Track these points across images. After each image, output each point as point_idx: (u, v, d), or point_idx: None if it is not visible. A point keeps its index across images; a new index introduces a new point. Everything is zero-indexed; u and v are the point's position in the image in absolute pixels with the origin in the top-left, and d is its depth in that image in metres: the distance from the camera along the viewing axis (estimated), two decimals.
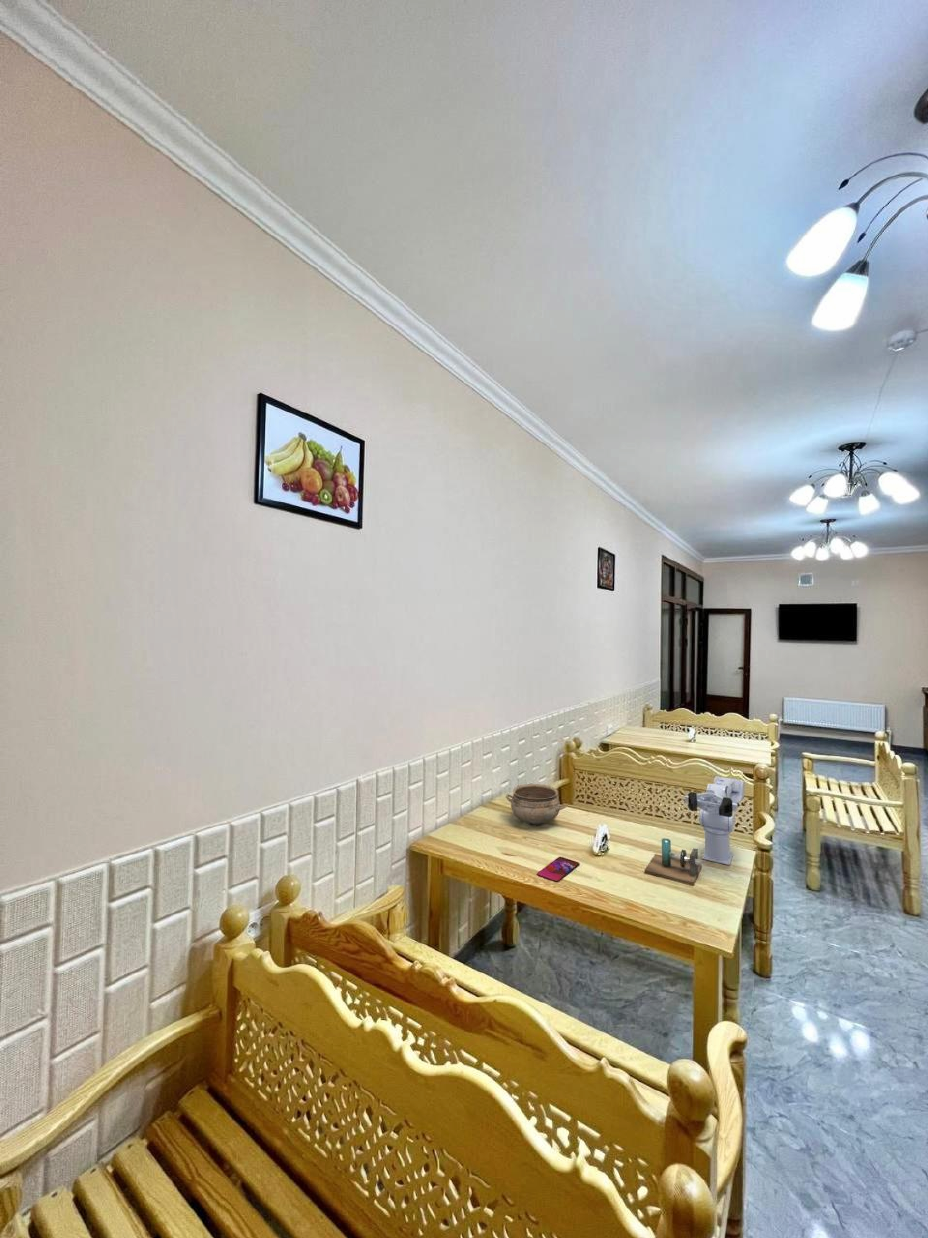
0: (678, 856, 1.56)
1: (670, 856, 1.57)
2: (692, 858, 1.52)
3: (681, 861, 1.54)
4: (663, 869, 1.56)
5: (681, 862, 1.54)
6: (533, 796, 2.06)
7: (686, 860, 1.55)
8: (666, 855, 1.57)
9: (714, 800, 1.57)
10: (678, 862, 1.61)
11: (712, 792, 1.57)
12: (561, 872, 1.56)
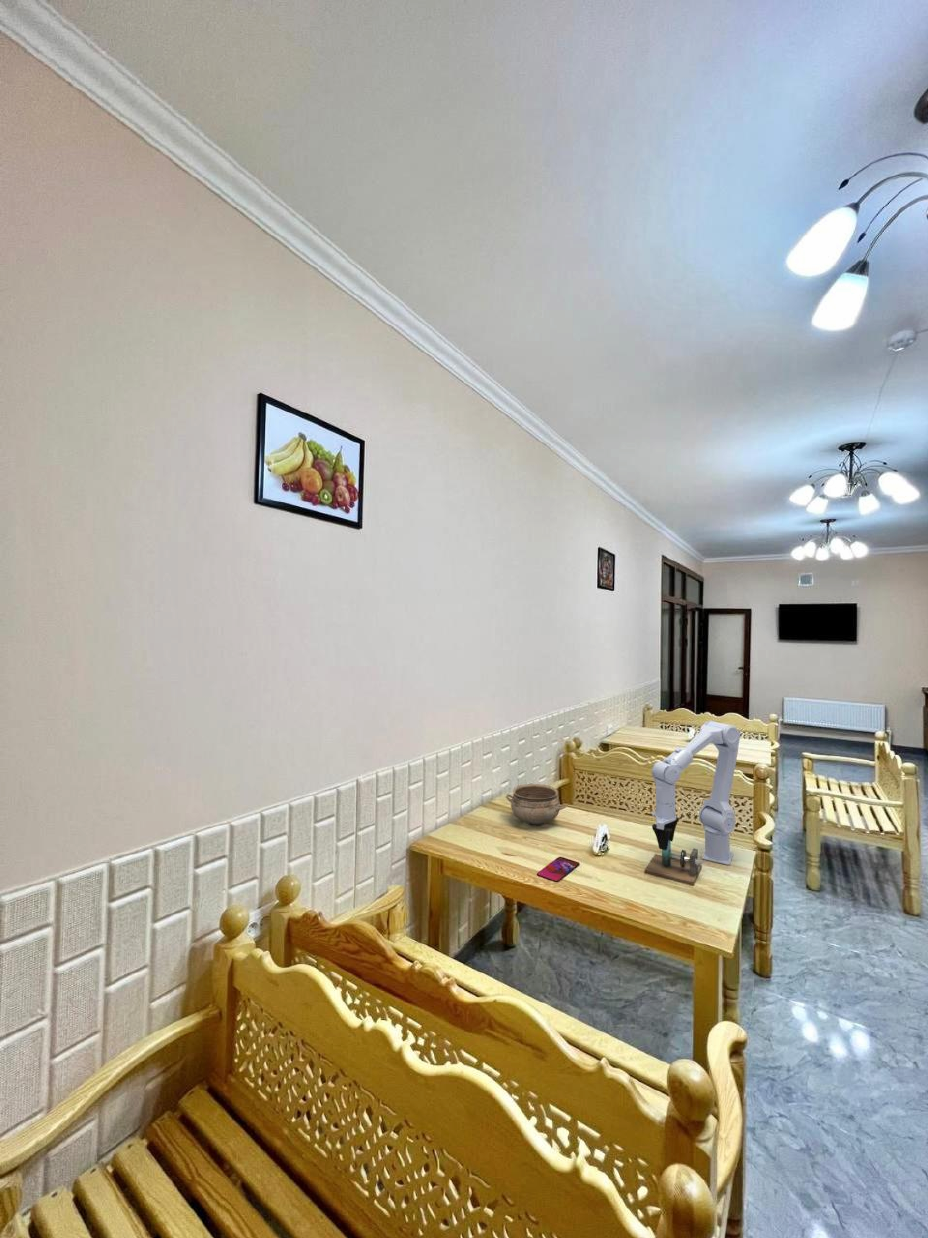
0: (678, 856, 1.56)
1: (670, 856, 1.57)
2: (692, 858, 1.52)
3: (681, 861, 1.54)
4: (663, 869, 1.56)
5: (681, 862, 1.54)
6: (533, 796, 2.06)
7: (686, 860, 1.55)
8: (666, 855, 1.57)
9: None
10: (678, 862, 1.61)
11: None
12: (561, 872, 1.56)
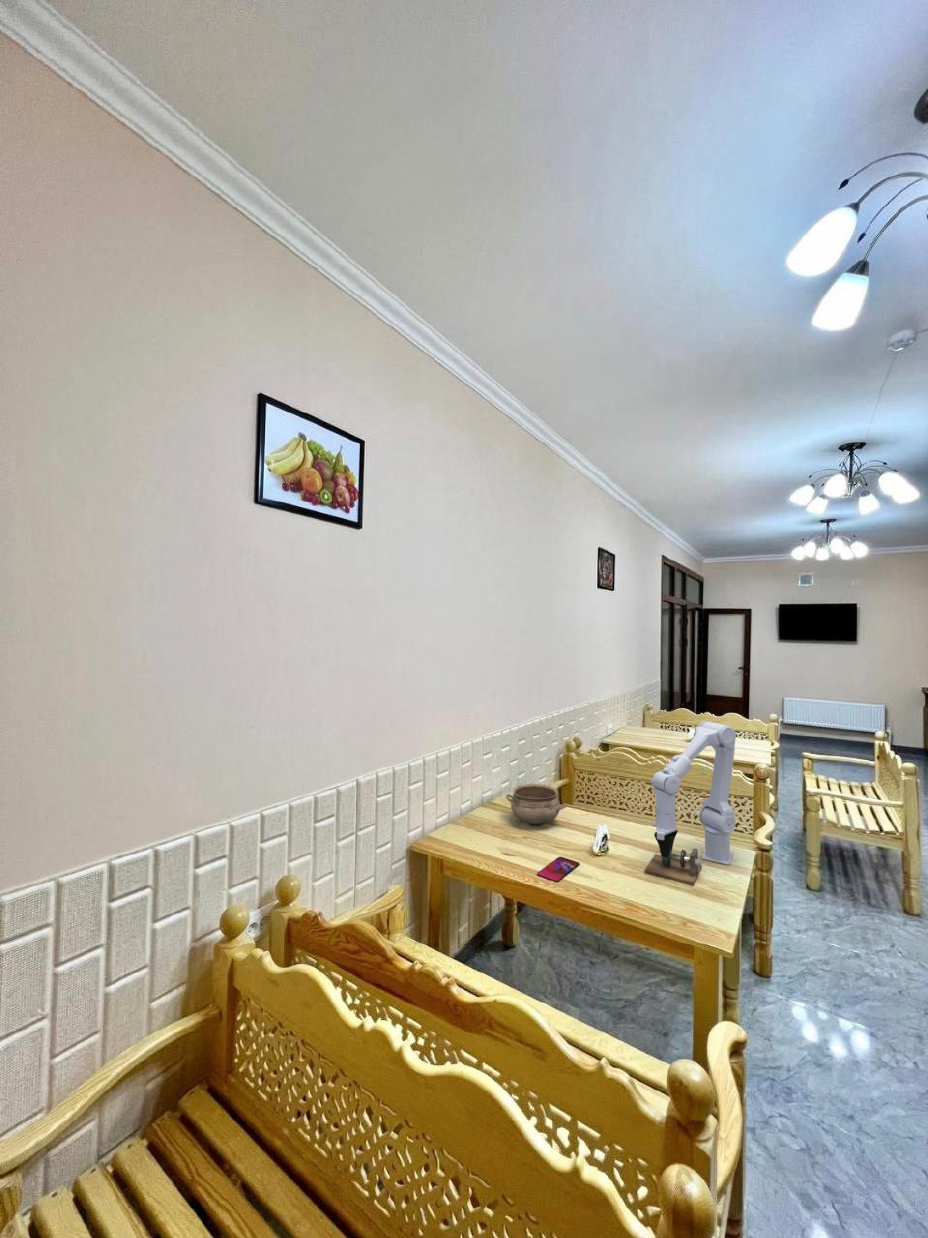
0: (678, 856, 1.56)
1: (670, 856, 1.57)
2: (692, 858, 1.52)
3: (681, 861, 1.54)
4: (663, 869, 1.56)
5: (681, 862, 1.54)
6: (533, 796, 2.06)
7: (686, 860, 1.55)
8: None
9: None
10: (678, 862, 1.61)
11: None
12: (561, 872, 1.56)
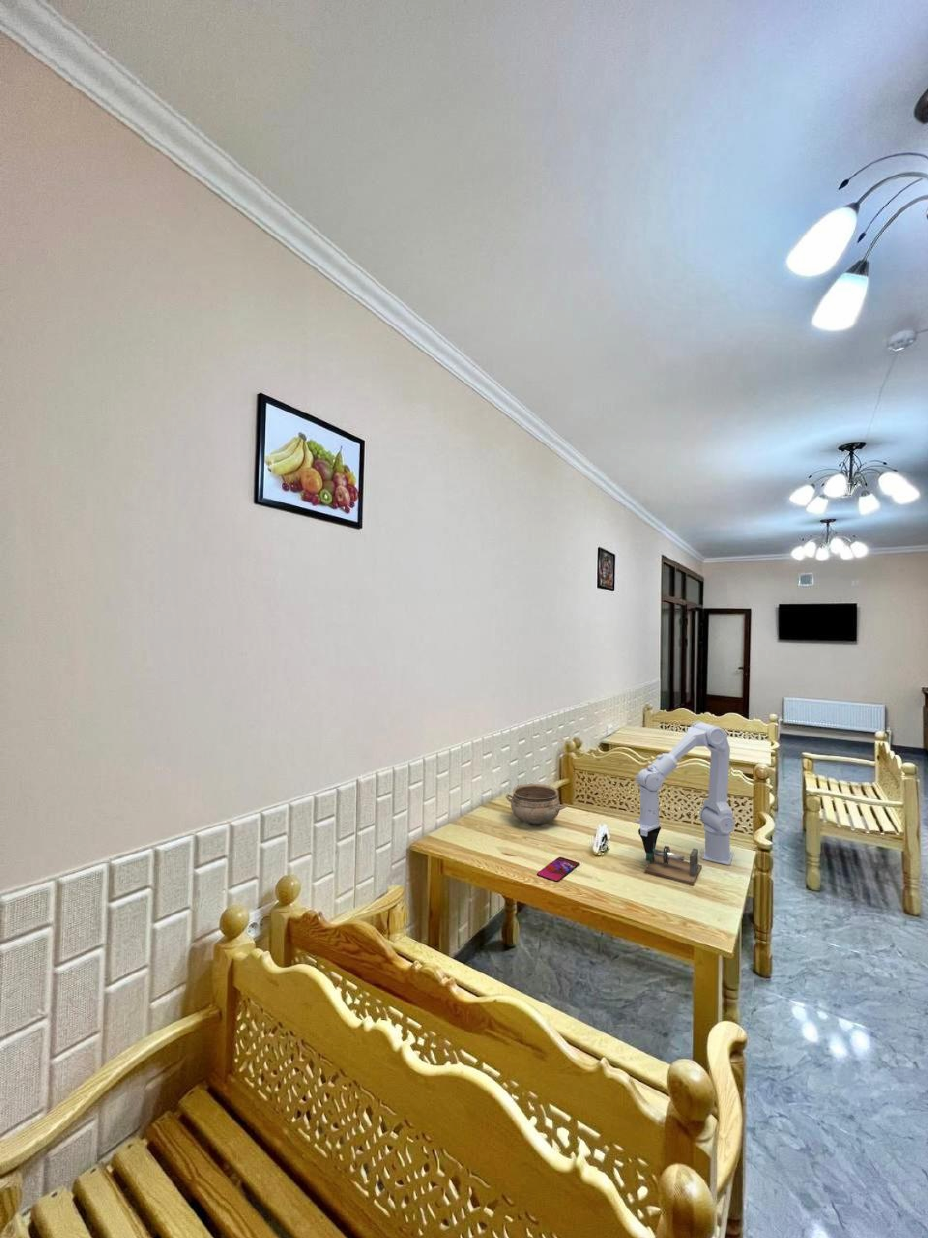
0: (661, 852, 1.59)
1: (653, 852, 1.60)
2: (692, 858, 1.52)
3: (664, 857, 1.57)
4: (663, 869, 1.56)
5: (664, 858, 1.57)
6: (533, 796, 2.06)
7: (669, 856, 1.57)
8: None
9: None
10: (678, 862, 1.61)
11: None
12: (561, 872, 1.56)
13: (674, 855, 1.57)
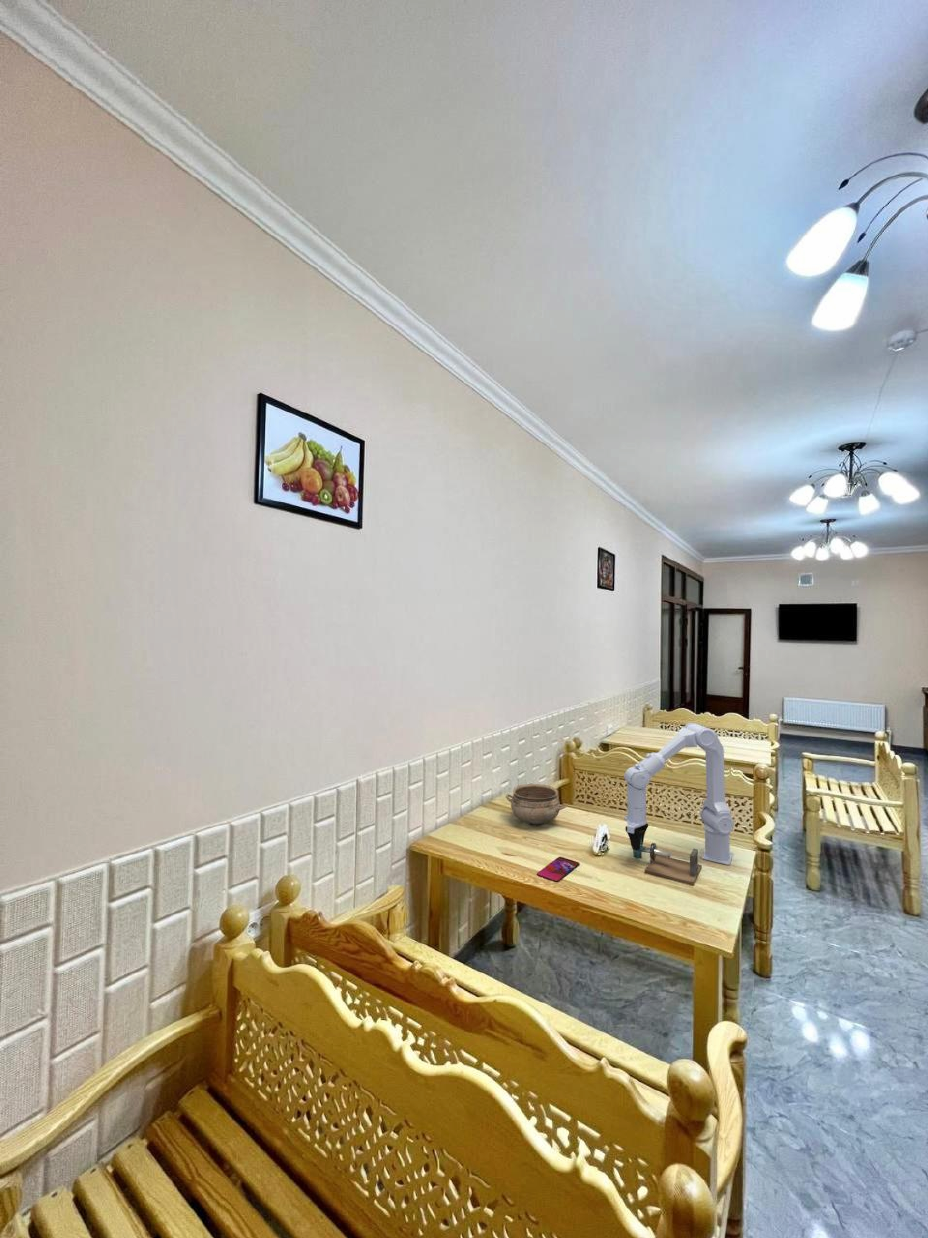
0: (648, 849, 1.61)
1: (641, 849, 1.62)
2: (692, 858, 1.52)
3: (651, 854, 1.59)
4: (663, 869, 1.56)
5: (651, 855, 1.59)
6: (533, 796, 2.06)
7: (656, 853, 1.60)
8: None
9: None
10: (678, 862, 1.61)
11: None
12: (561, 872, 1.56)
13: (661, 852, 1.59)
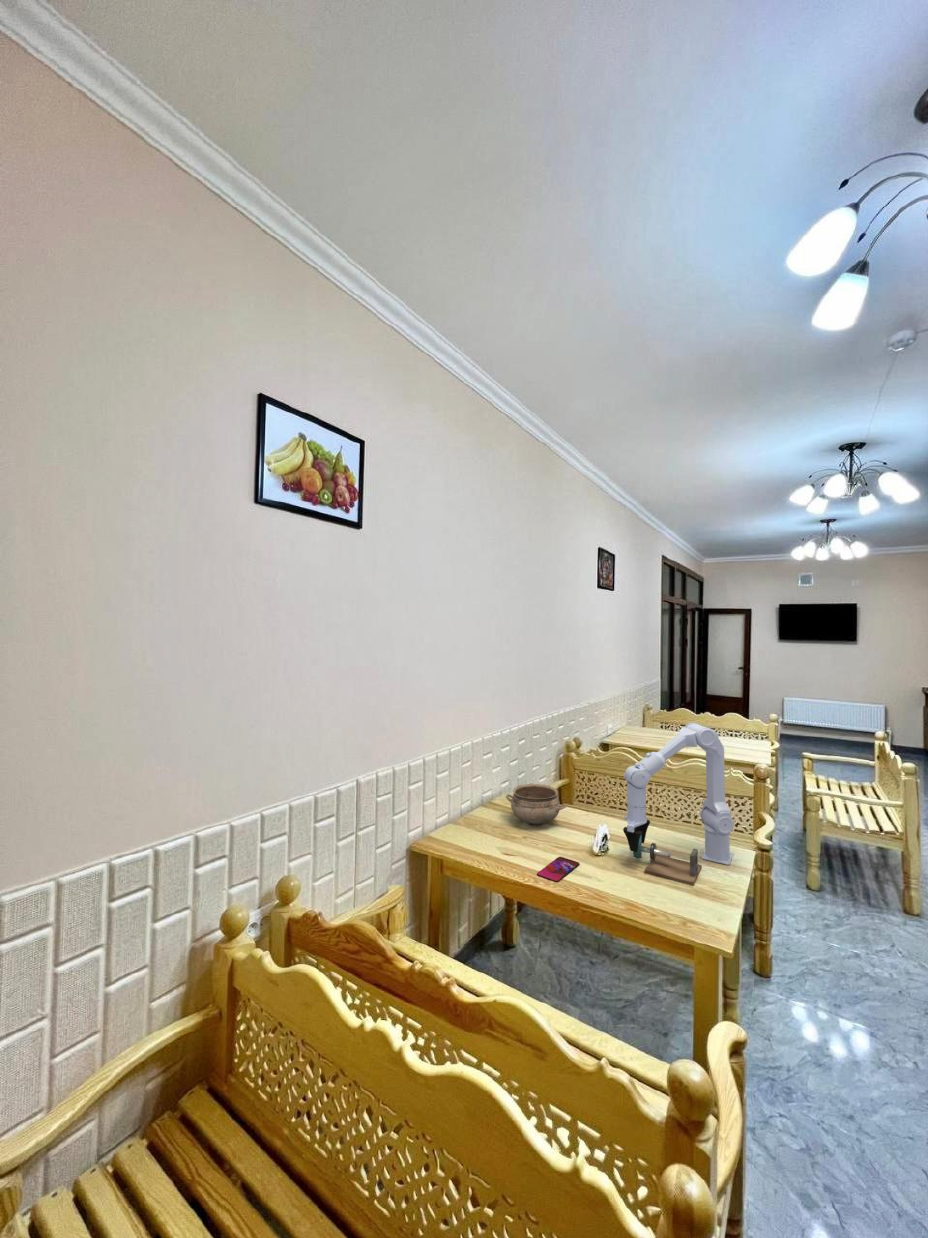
0: (648, 849, 1.61)
1: (641, 849, 1.62)
2: (692, 858, 1.52)
3: (651, 854, 1.59)
4: (663, 869, 1.56)
5: (651, 855, 1.59)
6: (533, 796, 2.06)
7: (656, 853, 1.60)
8: None
9: None
10: (678, 862, 1.61)
11: None
12: (561, 872, 1.56)
13: (661, 852, 1.59)
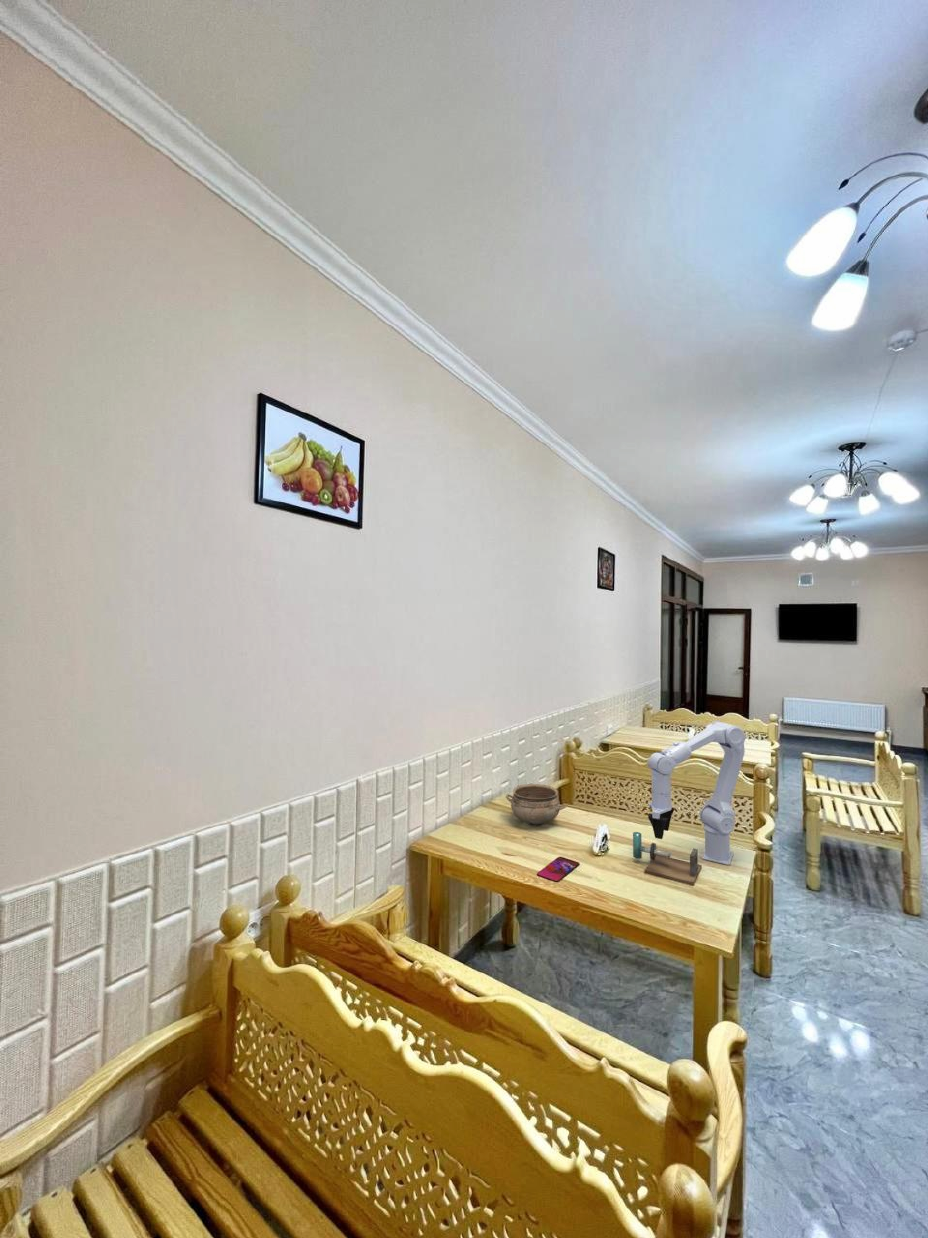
0: (648, 849, 1.61)
1: (641, 849, 1.62)
2: (692, 858, 1.52)
3: (651, 854, 1.59)
4: (663, 869, 1.56)
5: (651, 855, 1.59)
6: (533, 796, 2.06)
7: (656, 853, 1.60)
8: (637, 848, 1.63)
9: None
10: (678, 862, 1.61)
11: None
12: (561, 872, 1.56)
13: (661, 852, 1.59)
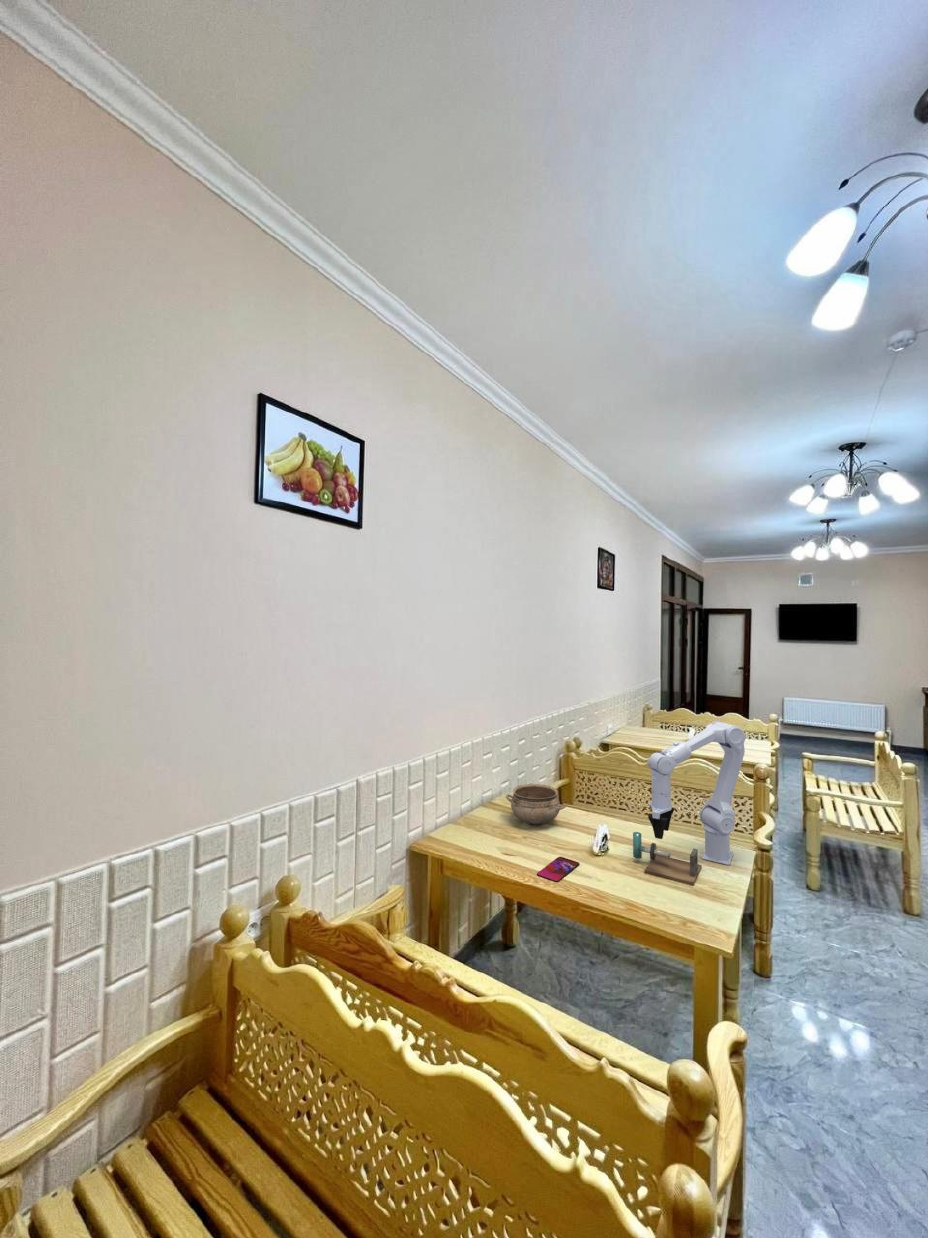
0: (648, 849, 1.61)
1: (641, 849, 1.62)
2: (692, 858, 1.52)
3: (651, 854, 1.59)
4: (663, 869, 1.56)
5: (651, 855, 1.59)
6: (533, 796, 2.06)
7: (656, 853, 1.60)
8: (637, 848, 1.63)
9: None
10: (678, 862, 1.61)
11: None
12: (561, 872, 1.56)
13: (661, 852, 1.59)
